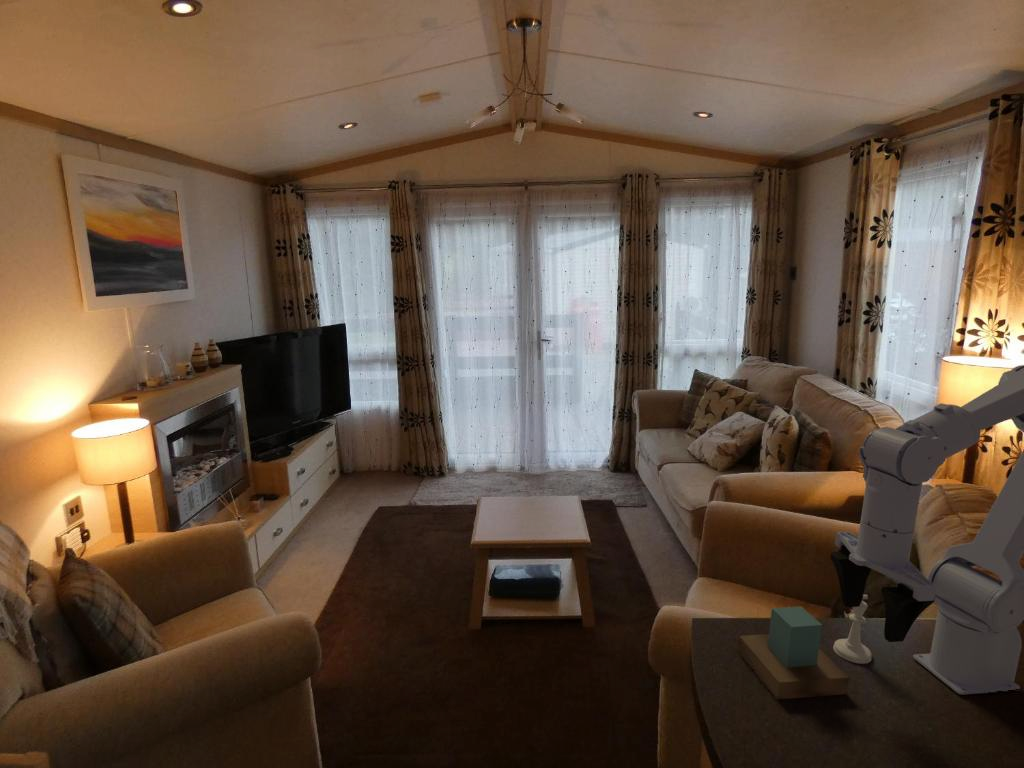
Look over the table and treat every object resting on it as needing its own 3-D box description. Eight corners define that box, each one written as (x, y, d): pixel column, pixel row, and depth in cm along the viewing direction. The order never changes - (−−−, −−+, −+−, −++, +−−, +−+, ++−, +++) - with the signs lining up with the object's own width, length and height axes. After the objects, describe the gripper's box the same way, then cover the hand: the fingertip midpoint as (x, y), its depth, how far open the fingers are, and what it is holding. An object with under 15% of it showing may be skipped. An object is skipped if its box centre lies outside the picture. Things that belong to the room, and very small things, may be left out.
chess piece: (877, 666, 84) (887, 602, 82) (839, 660, 85) (849, 597, 83) (864, 645, 89) (873, 584, 87) (828, 640, 90) (837, 580, 88)
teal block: (796, 644, 84) (801, 606, 83) (816, 665, 80) (822, 624, 79) (767, 646, 84) (771, 608, 83) (786, 667, 79) (791, 627, 78)
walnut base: (800, 647, 88) (802, 632, 88) (846, 694, 78) (849, 677, 78) (737, 651, 87) (739, 635, 86) (776, 699, 77) (779, 682, 76)
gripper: (820, 502, 81) (808, 593, 83) (904, 551, 66) (886, 659, 69) (867, 501, 82) (853, 591, 84) (959, 549, 67) (939, 656, 70)
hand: (871, 622), depth 77 cm, fingers open, 7 cm apart
